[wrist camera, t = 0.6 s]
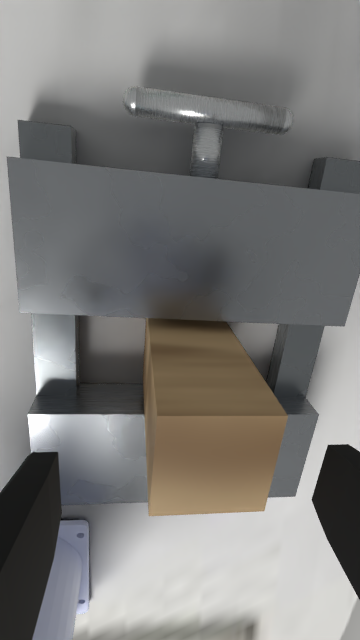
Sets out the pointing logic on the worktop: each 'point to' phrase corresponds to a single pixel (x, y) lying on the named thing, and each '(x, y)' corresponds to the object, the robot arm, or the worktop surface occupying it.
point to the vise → (172, 277)
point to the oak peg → (206, 421)
